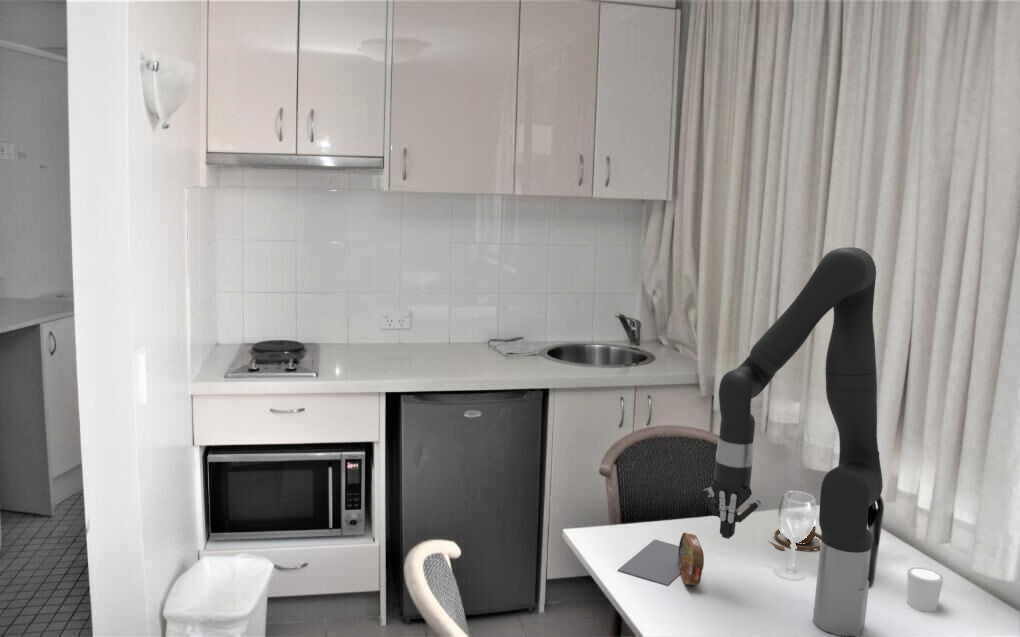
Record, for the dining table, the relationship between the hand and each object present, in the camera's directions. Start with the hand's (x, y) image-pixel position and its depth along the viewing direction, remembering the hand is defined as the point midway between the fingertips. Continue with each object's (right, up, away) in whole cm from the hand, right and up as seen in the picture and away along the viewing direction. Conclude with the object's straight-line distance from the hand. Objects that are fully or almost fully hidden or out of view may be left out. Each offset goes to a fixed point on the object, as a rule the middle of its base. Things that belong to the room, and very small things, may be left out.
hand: (726, 536), depth 179 cm
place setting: (+27, -10, +24) cm, 37 cm away
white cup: (+41, -14, -3) cm, 43 cm away
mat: (-12, -9, +13) cm, 20 cm away
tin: (-7, -10, +6) cm, 14 cm away
